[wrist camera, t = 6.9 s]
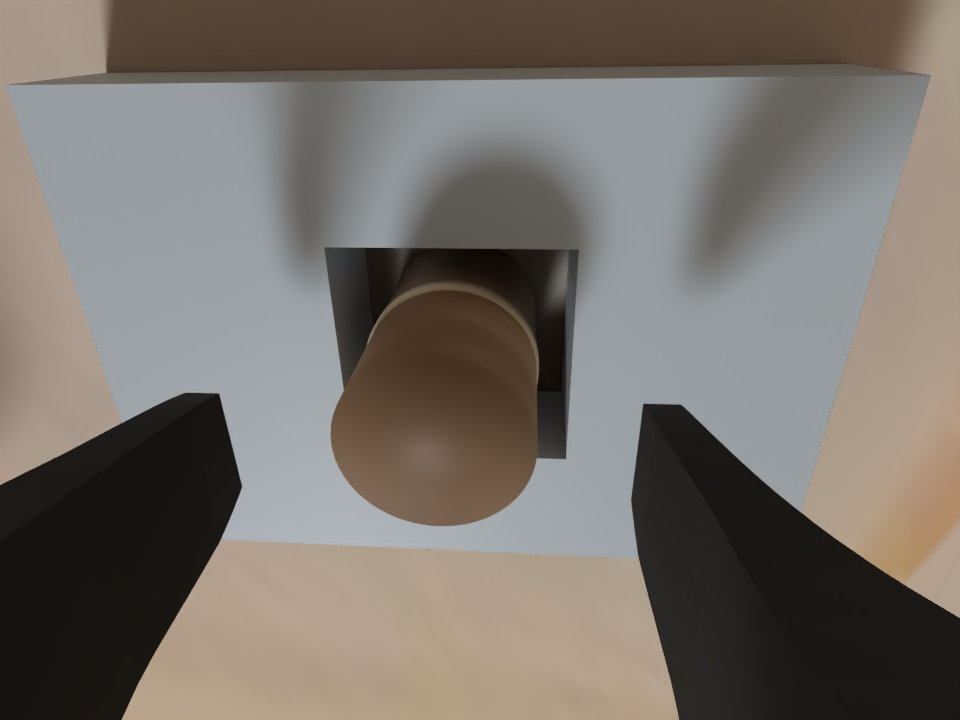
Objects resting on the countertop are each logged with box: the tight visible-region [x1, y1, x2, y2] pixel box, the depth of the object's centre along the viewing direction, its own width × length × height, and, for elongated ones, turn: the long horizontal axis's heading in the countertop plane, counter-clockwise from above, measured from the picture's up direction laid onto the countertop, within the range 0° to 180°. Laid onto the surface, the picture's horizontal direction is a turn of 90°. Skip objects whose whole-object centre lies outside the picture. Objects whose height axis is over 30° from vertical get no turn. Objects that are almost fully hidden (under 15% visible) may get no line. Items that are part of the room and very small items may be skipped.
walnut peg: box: [330, 248, 539, 526], centre depth 14 cm, size 4×4×6 cm
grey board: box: [6, 64, 931, 558], centre depth 15 cm, size 11×16×3 cm
